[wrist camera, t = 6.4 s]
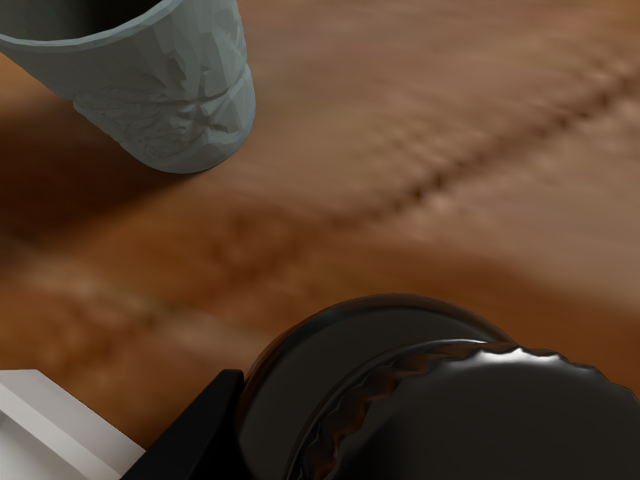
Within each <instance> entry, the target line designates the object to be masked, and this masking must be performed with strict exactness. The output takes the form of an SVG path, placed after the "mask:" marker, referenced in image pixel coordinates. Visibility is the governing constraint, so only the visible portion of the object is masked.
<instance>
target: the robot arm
mask: <svg viewBox="0 0 640 480" xmlns="http://www.w3.org/2000/svg"><path fill="white" fill-rule="evenodd" d="M243 384H244V374H243V372H242V371H241V370H236V369H224V370H222V371H221V372H220V373H219V374H218V375H217V376H216V377H215V378H214V380H213V381H212V382H211V383H210V384H209V385H208V386H207V387H206V388H205V389H204V390H203V391H202V392H201V393H200V394H199V395H198V396H197V398H196V399H195V400H194V401H193V402H192V403H191V404H190V405H189V406H188V407H187V408H186V409H185V410H184V411H183V412H182V413H181V414H180V416H179V417H178V418H177V419H176V420H175V421H174V422H173V423H172V424H171V425H170V426H169V427H168V428H167V429H166V430H165V431H164V433H163V434H162V435H161V436H160V437H159V438H158V439H157V440H156V441H155V442H154V443H153V444H152V445H151V446H150V447H149V448H148V449H147V451H146V452H145V453H144V454H143V455H142V456H141V457H140V458H139V459H138V460H137V461H136V462H135V463H134V464H133V465H132V466H131V467H130V469H129V470H128V471H127V472H126V473H125V474H124V475H123V476H122V477H121V478H120V479H119V480H216V473H217V467H218V460H219V454H220V450H221V446H222V441H223V437H224V433H225V430H226V427H227V424H228V421H229V418H230V415H231V412H232V409H233V407H234V405H235V404H234V403H235V401H236V399H237V398H238V396H239V395H238V394H239V392H240V390H241V388H242V386H243Z"/></svg>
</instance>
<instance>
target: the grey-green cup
mask: <svg viewBox="0 0 640 480" xmlns="http://www.w3.org/2000/svg"><path fill="white" fill-rule="evenodd" d="M0 52H2V53H3V54H4V55H6V56H7V57H8V58H10V59H11V60H12V61H14V62H15V63H17V64H18V65H19V66H21V67H22V68H23V69H24V70H25V71H26V72H28V73H29V74H30V75H31V76H33V77H34V78H36V79H37V80H39V81H40V82H41V83H43V84H44V85H45V86H46V87H47V88H49V89H50V90H51V91H53V92H54V93H55V94H57V95H58V96H60V97H62V98H63V99H66V100H72V101H73V108H74V109H75V110H76V111H77V112H79V113H80V114H82V115H83V116H85V117H86V118H87V120H88V121H90V122H91V123H93V124H94V125H96V126H97V127H99V129H100V130H102V131H103V132H104V133H106V134H108V135H110V136H111V137H112V138H113V139H114V140H115V141H116V142H118V143H119V144H120V145H121V147H122V148H124V149H125V150H126V151H128V152H129V153H130V154H131V155H132V156H133V157H135V158H136V159H137V160H139V161H141V162H142V163H144V164H145V165H147V166H149V167H152V168H154V169H157V170H160V171H164V172H169V173H177V174H186V173H193V172H199V171H203V170H206V169H209V168H211V167H213V166H216V165H218V164H219V163H221V162H223V161H224V160H226V159H227V158H229V157H230V156H231V155H232V154H233V153H234V152H236V150H237V149H238V148H239V147H240V146H241V145H242V144H243V142H244V141H245V139H246V138H247V136H248V135H249V133H250V132H251V128H252V124H253V120H254V116H255V108H256V100H255V93H254V87H253V82H252V76H251V72H250V69H249V66H248V65H247V63H246V59H247V54H246V43H245V40H244V36H243V26H242V21H241V17H240V14H239V13H238V8H237V1H236V0H0Z"/></svg>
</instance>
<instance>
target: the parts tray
mask: <svg viewBox="0 0 640 480" xmlns="http://www.w3.org/2000/svg"><path fill="white" fill-rule="evenodd" d="M145 452H146V450H144V449H143V448H142V447H140V446H139V445H138V444H136V443H135V442H133V441H132V440H131V439H129V438H128V437H127V436H125V435H124V434H123V433H121V432H120V431H119V430H117V429H116V428H115V427H113V426H112V425H111V424H109V423H108V422H107V421H105V420H104V419H102V418H101V417H100V416H98V415H97V414H96V413H94V412H93V411H92V410H90V409H89V408H88V407H86V406H85V405H84V404H82V403H81V402H80V401H78V400H77V399H76V398H74V397H73V396H72V395H70V394H69V393H67V392H66V391H65V390H63V389H62V388H61V387H59V386H58V385H57V384H55V383H54V382H53V381H51V380H50V379H49V378H47V377H46V376H45V375H43V374H42V373H41V372H39V371H38V370H0V480H119V479H120V478H121V477H122V476H123V475H124V474H125V473H126V472H127V471H128V470H129V469H130V467H131V466H132V465H133V464H134V463H135V462H136V461H137V460H138V459H139V458H140V457H141V456H142V455H143V454H144V453H145Z"/></svg>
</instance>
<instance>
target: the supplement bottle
mask: <svg viewBox="0 0 640 480" xmlns="http://www.w3.org/2000/svg"><path fill="white" fill-rule="evenodd" d="M238 395H239V396H238V398H237V399H236V401H235V403H234V404H235V405H234V407H233V409H232V412H231V415H230V418H229V421H228V424H227V427H226V430H225V433H224V437H223V441H222V446H221V450H220V454H219V460H218V467H217V473H216V480H640V402H639V401H638V399H637V397H636V396H635V395H634V393H633V392H632V391H631V390H630V389H629V388H627V387H624V386H621V385H618V384H615V383H612V382H610V381H609V380H608V379H607V378H606V377H605V376H604V375H603V374H602V373H601V372H600V371H599V370H598V369H596V368H595V367H594V366H591V365H589V364H585V363H577V362H570V361H569V360H568V359H567V358H566V357H564V356H563V355H561V354H560V353H558V352H556V351H553V350H550V349H527V348H525V347H522V346H520V345H518V344H517V343H516V342H515V341H514V340H513V339H512V338H511V337H509V336H508V335H507V334H506V333H505V332H503V331H502V330H501V329H499V328H498V327H497V326H495V325H494V324H492V323H491V322H489V321H488V320H486V319H485V318H483V317H481V316H479V315H477V314H476V313H474V312H472V311H470V310H468V309H465V308H463V307H461V306H459V305H456V304H453V303H450V302H447V301H444V300H441V299H437V298H433V297H429V296H424V295H416V294H407V293H388V294H376V295H370V296H364V297H359V298H354V299H351V300H347V301H344V302H340V303H338V304H335V305H333V306H330V307H328V308H325V309H323V310H321V311H319V312H318V313H316V314H314V315H312V316H310V317H308V318H306V319H305V320H303V321H301V322H300V323H298V324H296V325H295V326H293V327H291V328H290V329H288V330H287V331H285V332H283V333H282V334H280V335H279V336H278V337H277V338H275V339H274V340H273V341H272V342H271V343H270V344H269V345H268V346H267V347H266V348H265V349H264V350H263V351H262V352H261V354H260V355H259V356H258V357H257V359H256V360H255V362H254V363H253V365H252V366H251V368H250V370H249V372H248V373H247V375H246V378H245V380H244V384H243V386H242V388H241V390H240V392H239V394H238Z"/></svg>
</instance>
